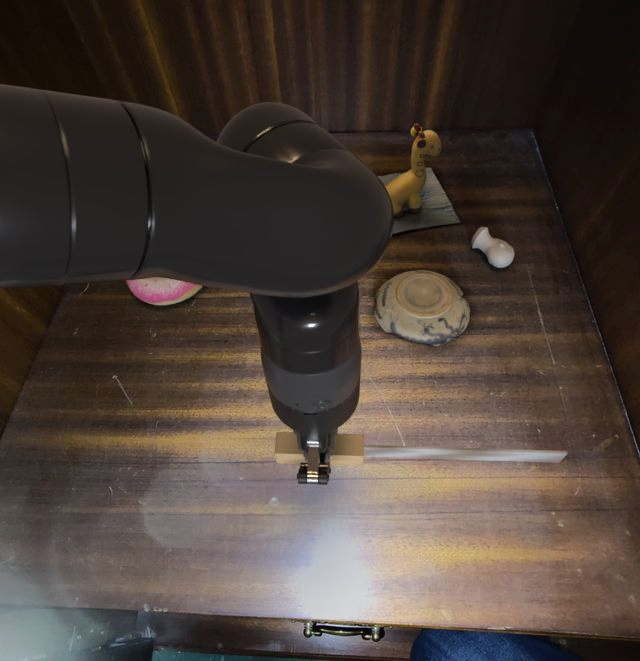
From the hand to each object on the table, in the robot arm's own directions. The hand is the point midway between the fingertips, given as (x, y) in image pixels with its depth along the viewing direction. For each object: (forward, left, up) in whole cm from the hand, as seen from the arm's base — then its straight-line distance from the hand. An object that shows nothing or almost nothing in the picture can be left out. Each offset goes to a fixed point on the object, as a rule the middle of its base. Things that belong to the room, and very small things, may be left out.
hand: (320, 453), depth 54 cm
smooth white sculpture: (+49, +7, -14) cm, 51 cm away
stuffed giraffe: (+49, +27, -14) cm, 58 cm away
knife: (+7, -8, 0) cm, 10 cm away
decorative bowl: (+32, +9, -14) cm, 36 cm away
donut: (+9, +44, -14) cm, 47 cm away
